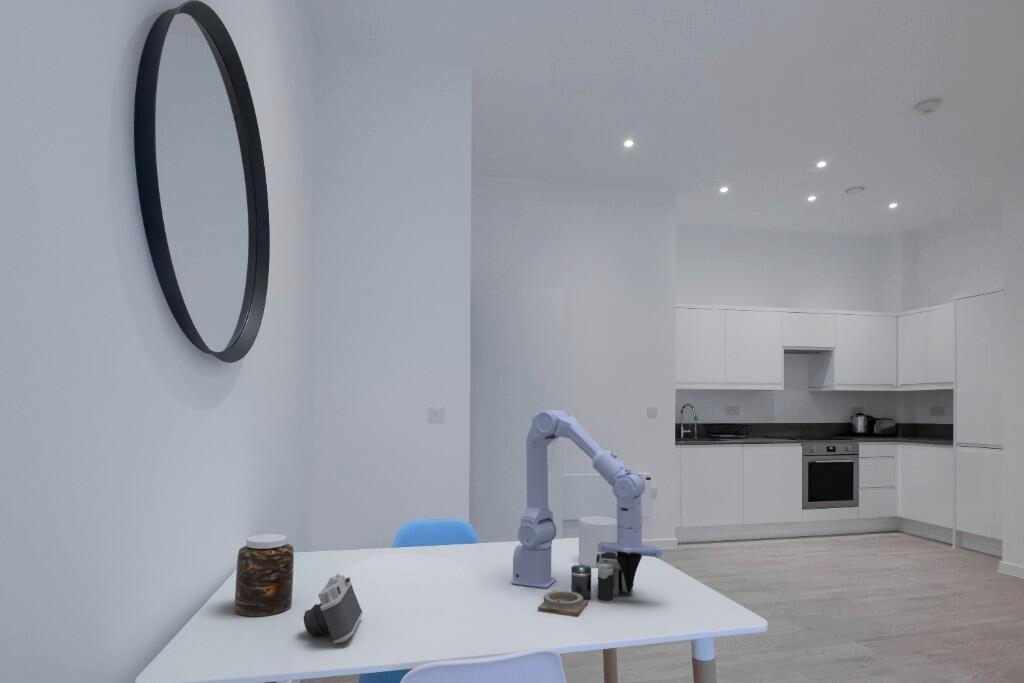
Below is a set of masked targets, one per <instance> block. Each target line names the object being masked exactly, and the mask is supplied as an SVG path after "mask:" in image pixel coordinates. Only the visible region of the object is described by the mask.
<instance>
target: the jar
mask: <svg viewBox="0 0 1024 683" xmlns="http://www.w3.org/2000/svg"><path fill="white" fill-rule="evenodd" d="M287 538H288V537H287V536H286V535H285V534H280V533H264V534H255V535H251V536H249V537H248V538H246V544H245V545H244V546H242V547H241V548H240V549H238V553H237V559H236V560H237V561H236V575H235V591H234V592H235V593H234V612H235V613H236V614H237V615H239V616H243V617H251V618H252V617H255V618H257V617H259V618H261V617H268V616H274V615H279V614H282V613H284V612H286V611H288V610H289V609H292V605H293V604H292V603H293V586H294V585H293V584H294V566H295V565H294V563H295V562H294V559H295V556H294V555H295V553H294V551H295V550H294V547H293V546H294V545H292V544H289V543H288V542H287Z"/></svg>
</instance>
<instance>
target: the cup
mask: <svg viewBox="0 0 1024 683" xmlns="http://www.w3.org/2000/svg"><path fill="white" fill-rule="evenodd" d="M599 542H610V543H617V518H615V517H614V518H613V517H610V516H609V517H607V516H584V517H581V518H579V520H578V563H579V565H586V566H589V567H591V569H592V568H594V569H598V567H597V566H596V559H597V554H600V555H601V554H602V553H604V552H598V543H599Z"/></svg>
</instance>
